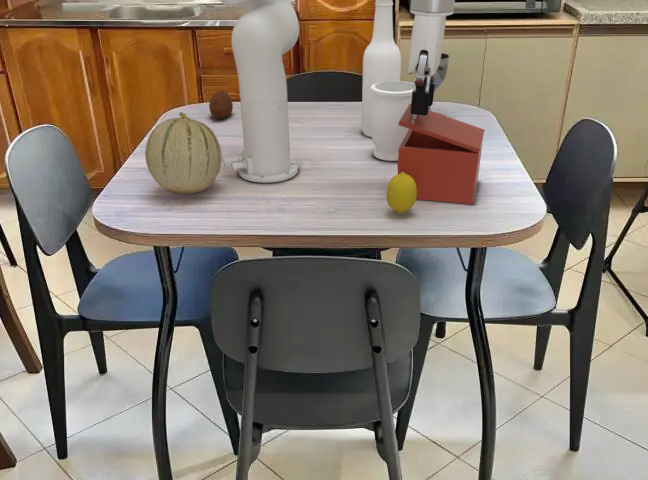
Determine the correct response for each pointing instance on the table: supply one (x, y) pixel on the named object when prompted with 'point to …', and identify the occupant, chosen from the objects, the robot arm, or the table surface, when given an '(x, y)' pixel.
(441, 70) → the wine glass
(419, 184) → the bin
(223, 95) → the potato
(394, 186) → the lemon
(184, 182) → the cantaloupe
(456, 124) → the bin lid
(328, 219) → the table surface
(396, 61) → the alcohol
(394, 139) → the jar
